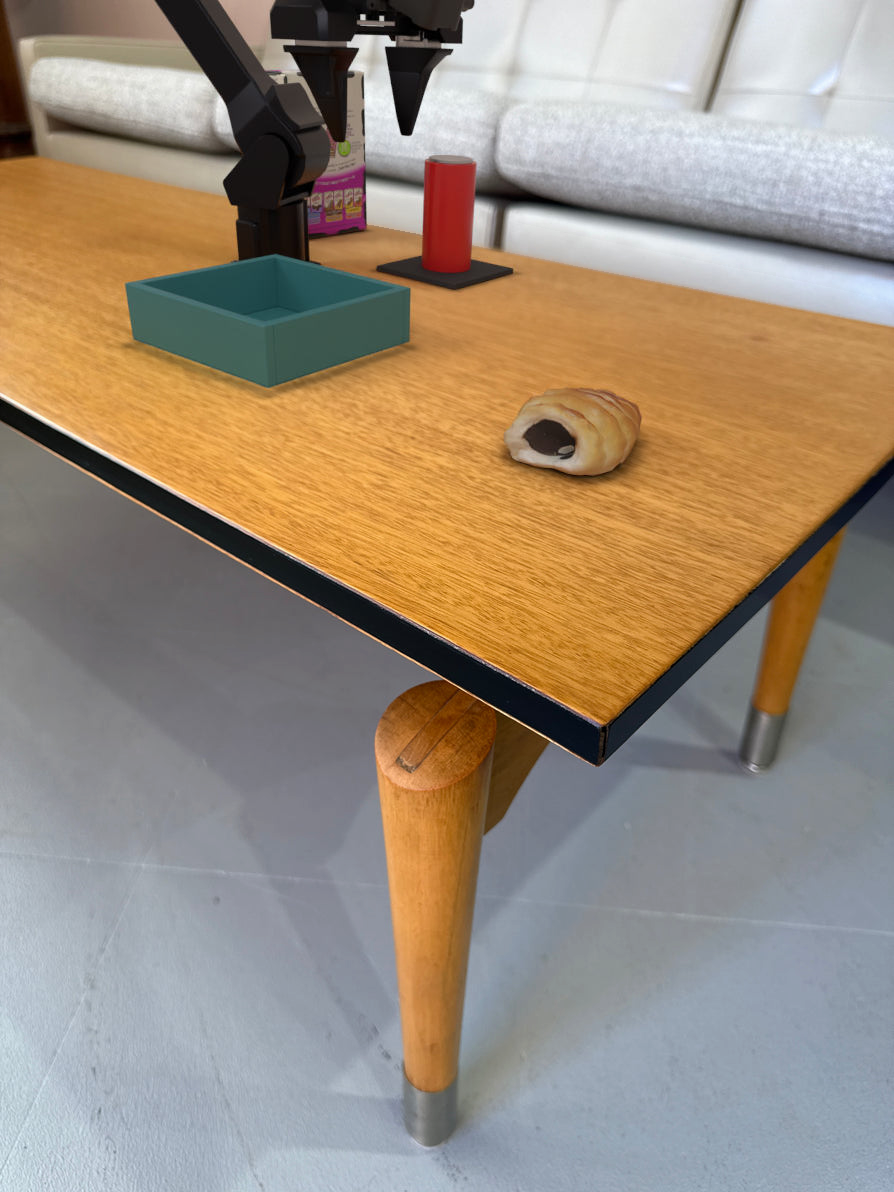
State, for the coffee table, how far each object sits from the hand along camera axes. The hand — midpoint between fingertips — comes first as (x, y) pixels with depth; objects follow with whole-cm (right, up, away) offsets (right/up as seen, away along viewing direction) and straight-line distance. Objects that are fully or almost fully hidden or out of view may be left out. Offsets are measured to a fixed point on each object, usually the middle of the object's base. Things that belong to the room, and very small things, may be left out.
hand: (374, 138), depth 78 cm
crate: (-7, -22, -12) cm, 26 cm away
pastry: (+14, -32, -25) cm, 44 cm away
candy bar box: (-9, +2, +25) cm, 26 cm away
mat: (+6, -8, +11) cm, 15 cm away
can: (+6, -7, +11) cm, 14 cm away
